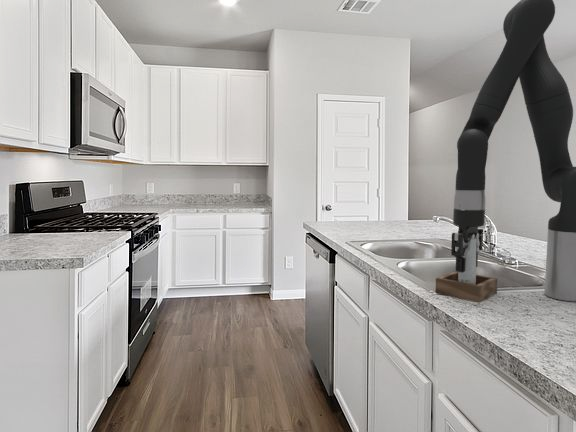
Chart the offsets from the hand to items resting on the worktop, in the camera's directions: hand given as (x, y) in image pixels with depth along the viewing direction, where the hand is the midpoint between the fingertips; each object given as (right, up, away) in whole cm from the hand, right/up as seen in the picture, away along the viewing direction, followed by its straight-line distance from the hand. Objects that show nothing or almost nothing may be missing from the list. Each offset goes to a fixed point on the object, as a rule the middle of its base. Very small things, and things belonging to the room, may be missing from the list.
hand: (466, 269), depth 106 cm
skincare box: (0, -4, 0) cm, 4 cm away
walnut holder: (0, -6, +1) cm, 7 cm away
